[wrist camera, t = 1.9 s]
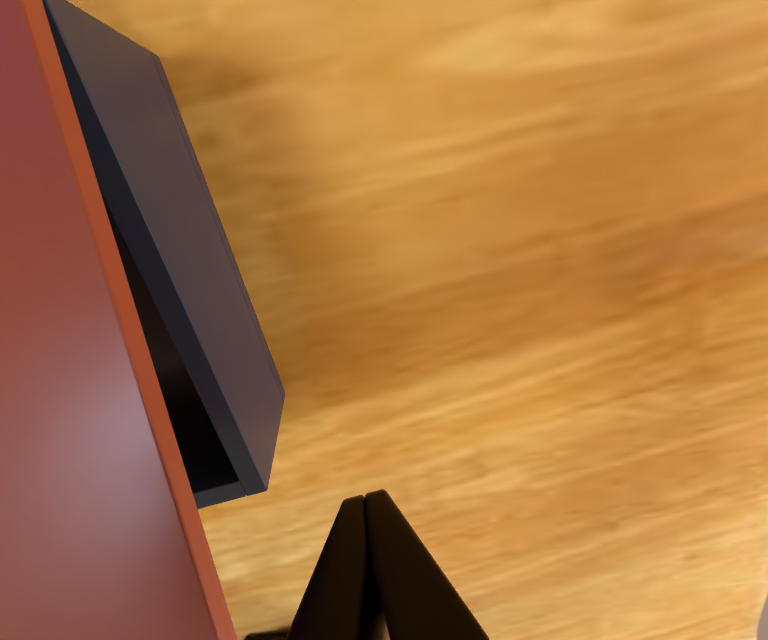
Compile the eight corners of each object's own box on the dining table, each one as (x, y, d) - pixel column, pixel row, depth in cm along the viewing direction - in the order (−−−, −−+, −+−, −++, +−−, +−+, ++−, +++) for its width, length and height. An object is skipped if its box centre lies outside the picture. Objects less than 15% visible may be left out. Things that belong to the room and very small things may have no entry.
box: (285, 393, 21) (267, 491, 15) (49, 454, 21) (-71, 581, 15) (158, 56, 15) (39, -18, 9) (-178, 132, 15) (-554, 111, 8)
